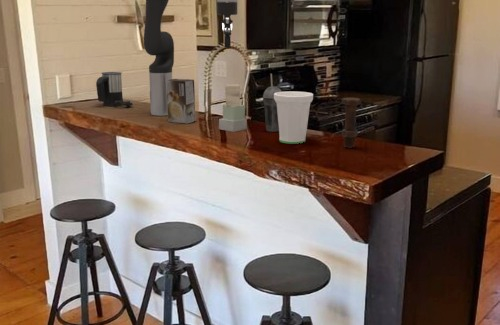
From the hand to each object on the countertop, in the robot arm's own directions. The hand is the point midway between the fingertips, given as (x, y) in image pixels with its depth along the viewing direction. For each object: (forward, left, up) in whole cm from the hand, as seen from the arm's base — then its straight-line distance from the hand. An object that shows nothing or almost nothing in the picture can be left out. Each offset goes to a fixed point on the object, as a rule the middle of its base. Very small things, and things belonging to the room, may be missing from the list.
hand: (227, 46), depth 196 cm
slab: (+12, -7, -28) cm, 32 cm away
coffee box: (-11, -14, -28) cm, 33 cm away
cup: (+40, -3, -28) cm, 49 cm away
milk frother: (-62, -17, -28) cm, 70 cm away
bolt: (+57, +5, -28) cm, 64 cm away
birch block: (+13, -7, -19) cm, 24 cm away
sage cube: (+13, -7, -24) cm, 28 cm away
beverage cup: (+23, +3, -28) cm, 37 cm away
